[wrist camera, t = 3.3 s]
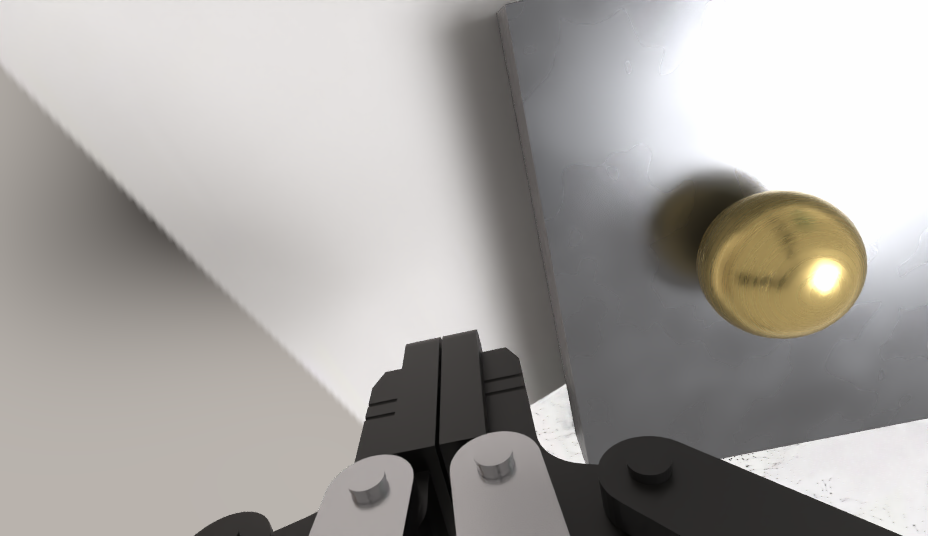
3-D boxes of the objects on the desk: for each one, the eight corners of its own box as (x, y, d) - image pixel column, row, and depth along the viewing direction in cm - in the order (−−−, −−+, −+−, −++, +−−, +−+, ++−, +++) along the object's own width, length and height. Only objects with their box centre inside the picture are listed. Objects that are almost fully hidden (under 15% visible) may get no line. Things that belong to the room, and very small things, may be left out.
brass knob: (668, 193, 14) (732, 232, 11) (806, 162, 14) (913, 193, 11) (680, 313, 16) (741, 381, 12) (807, 287, 15) (904, 348, 12)
